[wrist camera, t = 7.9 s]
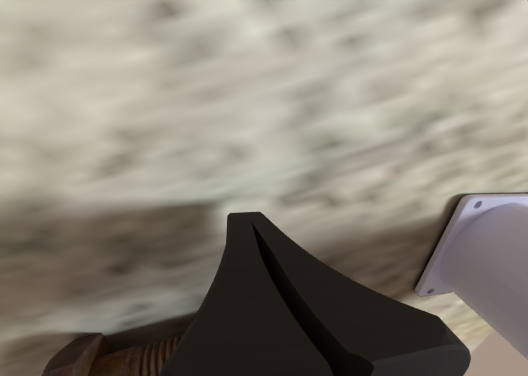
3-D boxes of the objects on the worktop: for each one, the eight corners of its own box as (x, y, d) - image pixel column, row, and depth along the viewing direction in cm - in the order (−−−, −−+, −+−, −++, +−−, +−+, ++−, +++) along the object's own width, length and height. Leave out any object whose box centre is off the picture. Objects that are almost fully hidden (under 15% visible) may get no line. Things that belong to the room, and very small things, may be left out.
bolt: (322, 274, 18) (94, 341, 15) (346, 251, 14) (38, 336, 11) (360, 369, 15) (87, 475, 12) (404, 376, 11) (7, 538, 8)
